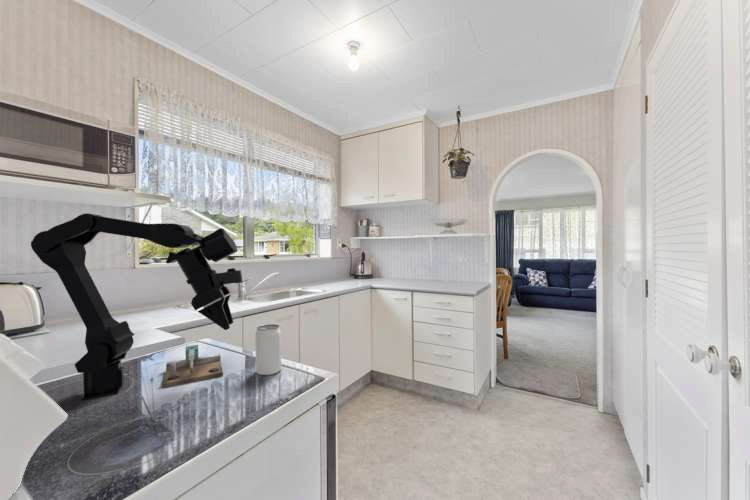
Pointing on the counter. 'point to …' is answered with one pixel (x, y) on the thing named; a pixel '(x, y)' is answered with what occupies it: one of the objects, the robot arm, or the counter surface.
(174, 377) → the plate
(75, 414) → the counter surface
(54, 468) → the counter surface
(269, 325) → the can
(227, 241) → the robot arm
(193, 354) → the leg
